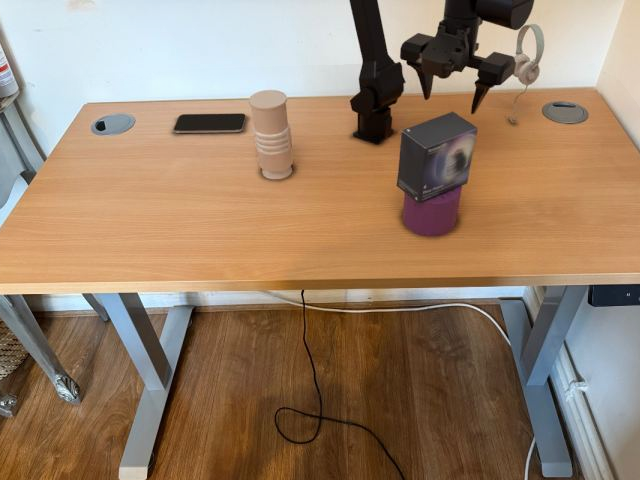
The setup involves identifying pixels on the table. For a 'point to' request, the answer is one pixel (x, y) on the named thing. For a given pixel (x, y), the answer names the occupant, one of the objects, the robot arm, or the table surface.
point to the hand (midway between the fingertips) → (449, 106)
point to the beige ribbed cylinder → (272, 133)
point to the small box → (435, 156)
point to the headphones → (525, 67)
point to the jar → (432, 213)
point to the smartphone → (209, 123)
